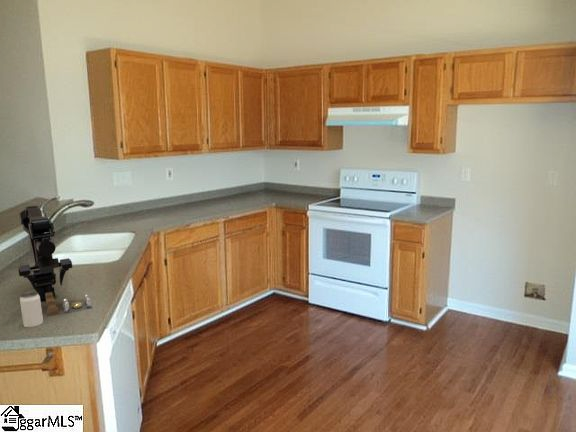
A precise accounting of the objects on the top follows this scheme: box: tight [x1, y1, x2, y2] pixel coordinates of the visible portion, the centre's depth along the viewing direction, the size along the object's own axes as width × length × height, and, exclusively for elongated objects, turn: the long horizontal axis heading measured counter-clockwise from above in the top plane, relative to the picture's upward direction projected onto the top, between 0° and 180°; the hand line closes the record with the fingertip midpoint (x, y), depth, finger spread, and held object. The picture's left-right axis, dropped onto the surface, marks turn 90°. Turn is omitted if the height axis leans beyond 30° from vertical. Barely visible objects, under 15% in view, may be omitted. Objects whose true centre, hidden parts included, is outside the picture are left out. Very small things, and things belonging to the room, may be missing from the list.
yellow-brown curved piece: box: [71, 301, 83, 309], centre depth 185 cm, size 4×4×2 cm
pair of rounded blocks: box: [61, 293, 92, 314], centre depth 184 cm, size 10×6×4 cm, turn 122°
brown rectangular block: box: [45, 292, 60, 317], centre depth 183 cm, size 12×4×6 cm, turn 32°
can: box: [19, 290, 44, 328], centre depth 170 cm, size 6×6×12 cm
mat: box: [61, 299, 93, 315], centre depth 187 cm, size 10×12×1 cm
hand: (48, 287), depth 184 cm, fingers open, 9 cm apart
